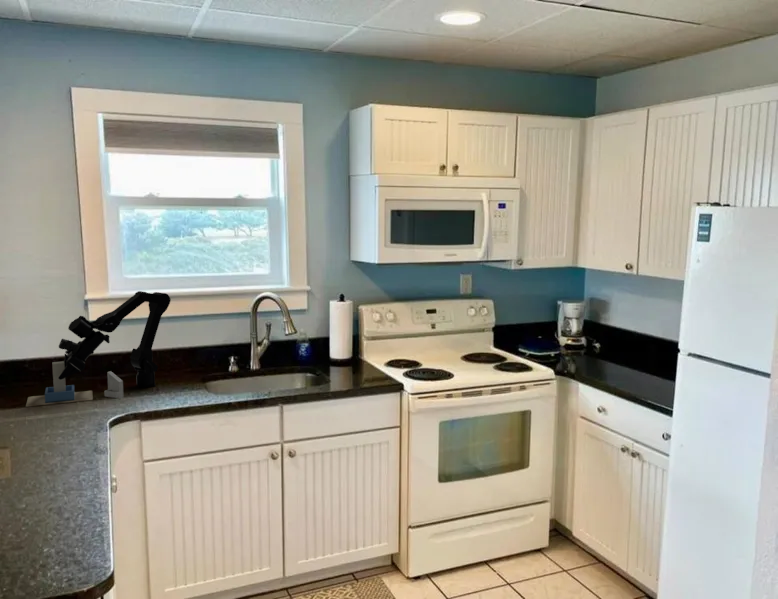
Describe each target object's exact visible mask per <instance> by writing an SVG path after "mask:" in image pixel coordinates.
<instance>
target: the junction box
mask: <svg viewBox="0 0 778 599" xmlns="http://www.w3.org/2000/svg"><path fill="white" fill-rule="evenodd" d="M75 392H76V391H75V384H69V385H66V391H62V392H54V386H49V387H48V386H47V387H45V390H44V395H45V403H50V402H60V401H70V400H74V397H75Z"/></svg>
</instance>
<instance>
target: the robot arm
mask: <svg viewBox="0 0 778 599" xmlns="http://www.w3.org/2000/svg"><path fill="white" fill-rule="evenodd" d="M145 302H146V303H148V310H149V314H148V317H147V320H146V323H145V327H144V329H143V333H142V336H141V340H140V343H139V345H138V347H137V348H132V350H131V355H130V356H129V359H130V364H131V366H132V367H133V368H134V370H135V371H137V374H136V375H135V376H136V377H135V378H136V386H137V387H138V388H139V387H142V388H149V387H150V388H151V386H152V387H156V381H155V380H156V379H155V378H156V376H155V374H156V373H155V372H158V368H159V366H158V365H157V364H156V363H154V361H153V356H154V355H153V345H154V341H155V338H156V335H157V332H158V328H159V325H160V322H161V319H162V315H163V314H164V313H165V312H166V311H167V310H168V307H169V306H170V305H171V304H170V303H171V297H170V295H169V294H167V293H165V292H158V291H157V292H156V291H155V292H153V293H152V292H151V293H150V292H146V291H140V290H139V291H136V292H135V293H134V294H133V295H132V296H131V297H130V298H128V299H127V300H126V301H124V302H123V303H122V304H120V305H119V306H118V307H116V308H115V309H114V310H112V311H110V312H107V313H105V314H102V315H100V316H99V317H97V318H95V320H93V321H89V320H88V319H87V318H86V317H85V316H83V315H79V317H78V318H77V317H76V318H75V319H74V320H73V321H71V322H70V323H69V325H68V331H70V332H71V333H73V334H74V335H76V336H77V337H78V338H80V339H82V341H81V340H79V341H78V342H74V341H73V340H69V339H65V338H61V340H60V342H59V345H58V349H60V350H65V352H64V360H63V361H64V365H65V369H64V370H63V372H62V373H61V375H60V376H59V379H60V380H61V379H64V378H65V379H66V378H68V377H71V376H72V375H74V374H77V373H80V372H82V371H84V370H85V368H86V361H87V359H88V358H89V357H90V356H91V355H93V354H94V353H95V351H96V350H97V348H98V347H100V346H101V344H102V343H103V342H105V343H107V344H110V336H109V334H104V333H113V332H114V331H115V330H116V329H117V328H118V327H119V326H120V324H121V323H122V321H123V319H125V318H126V317H127V316H128V315H130V314H131V313H132V312H133V311H134V310H136V309H137V308H138V307H140V306H142V305H143V303H145ZM96 330H97V331H96ZM102 332H104V333H102Z"/></svg>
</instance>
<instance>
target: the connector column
mask: <svg viewBox="0 0 778 599" xmlns="http://www.w3.org/2000/svg"><path fill="white" fill-rule="evenodd" d="M64 369H65V365H64V360H62V361H54V362H53V361H52V379H53V380H52V382H53V387H54V392H62V391H66V386H67V385H66V378H64V379H61V380H60V379H59V376H60V375H61V373H62V372H63V370H64Z"/></svg>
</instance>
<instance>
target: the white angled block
mask: <svg viewBox="0 0 778 599" xmlns="http://www.w3.org/2000/svg"><path fill="white" fill-rule="evenodd" d="M106 375H107V389H106V390H104V397H108V398H113V399H114V398H116V399H117V398H118V400H121V398H122V399H124V397H125V396H124V380H123V379H121V378H120V377H119V376H118V375H116V374H115V373H114V372H112V370H110V371H107V374H106Z"/></svg>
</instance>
